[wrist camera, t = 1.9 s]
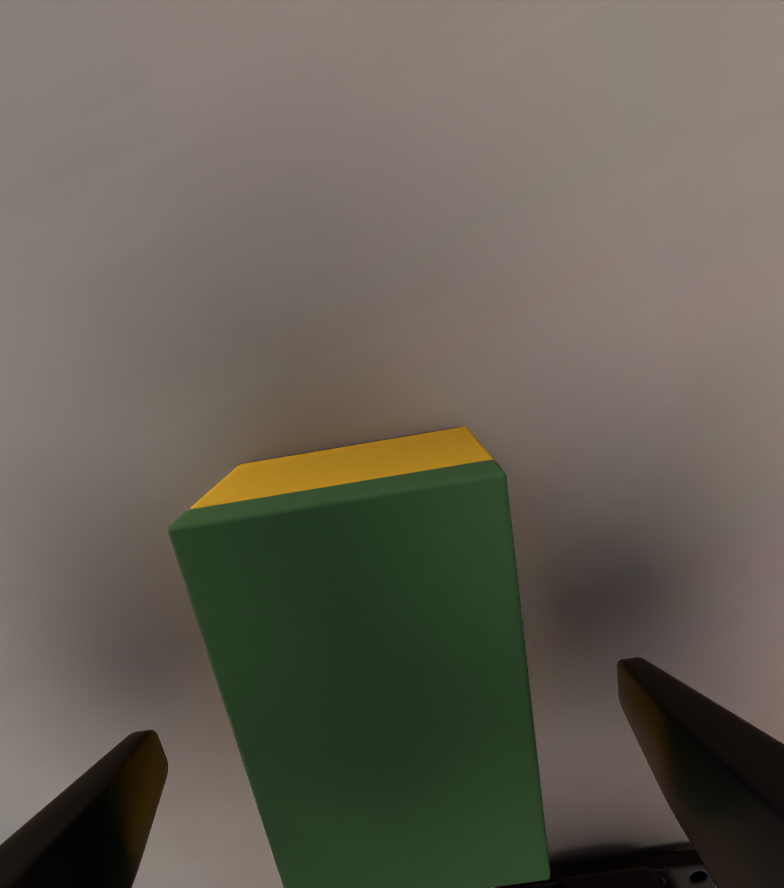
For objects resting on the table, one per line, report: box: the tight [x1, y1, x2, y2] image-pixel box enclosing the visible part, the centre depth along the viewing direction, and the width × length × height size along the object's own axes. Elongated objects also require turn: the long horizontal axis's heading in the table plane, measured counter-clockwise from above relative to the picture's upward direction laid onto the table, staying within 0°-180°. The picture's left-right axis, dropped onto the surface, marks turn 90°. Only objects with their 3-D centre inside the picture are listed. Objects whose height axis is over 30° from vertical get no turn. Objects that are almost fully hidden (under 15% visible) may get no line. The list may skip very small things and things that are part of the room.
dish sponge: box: [168, 427, 550, 888], centre depth 10 cm, size 9×6×4 cm, turn 10°
